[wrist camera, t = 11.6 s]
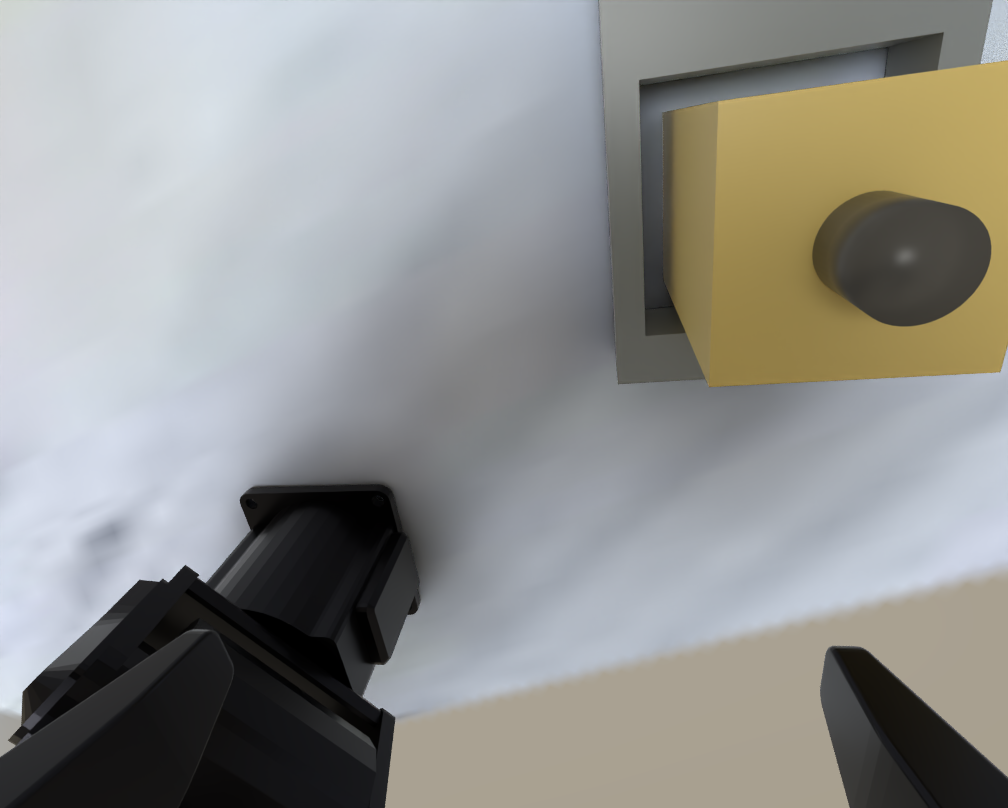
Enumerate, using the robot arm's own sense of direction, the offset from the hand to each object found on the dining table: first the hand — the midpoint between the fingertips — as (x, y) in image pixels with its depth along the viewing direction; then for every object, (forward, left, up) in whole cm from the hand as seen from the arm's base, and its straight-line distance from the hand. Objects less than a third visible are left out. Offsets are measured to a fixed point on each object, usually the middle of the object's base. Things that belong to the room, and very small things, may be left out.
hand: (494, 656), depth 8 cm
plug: (+6, +4, -12) cm, 14 cm away
